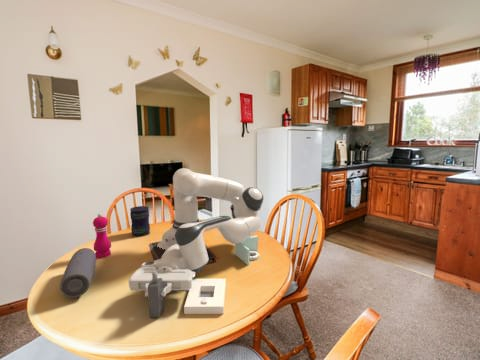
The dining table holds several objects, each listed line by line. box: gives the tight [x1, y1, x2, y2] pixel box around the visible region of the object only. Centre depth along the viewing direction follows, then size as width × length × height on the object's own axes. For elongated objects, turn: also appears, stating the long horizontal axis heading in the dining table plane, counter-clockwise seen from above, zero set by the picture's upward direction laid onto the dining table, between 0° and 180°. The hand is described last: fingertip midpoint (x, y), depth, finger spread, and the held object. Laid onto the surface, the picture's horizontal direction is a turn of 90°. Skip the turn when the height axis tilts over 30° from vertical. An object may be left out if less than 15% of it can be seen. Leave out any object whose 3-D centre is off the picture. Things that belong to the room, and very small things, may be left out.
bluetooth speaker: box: [59, 247, 97, 299], centre depth 94 cm, size 23×9×10 cm, turn 24°
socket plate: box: [183, 278, 227, 315], centre depth 86 cm, size 16×12×3 cm
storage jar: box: [129, 205, 151, 238], centre depth 144 cm, size 10×10×15 cm
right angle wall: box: [234, 235, 260, 266], centre depth 117 cm, size 12×12×8 cm
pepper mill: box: [92, 213, 112, 259], centre depth 117 cm, size 7×7×20 cm
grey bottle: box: [147, 272, 165, 318], centre depth 78 cm, size 4×3×13 cm, turn 1°
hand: (154, 294), depth 77 cm, fingers closed on grey bottle, 3 cm apart
